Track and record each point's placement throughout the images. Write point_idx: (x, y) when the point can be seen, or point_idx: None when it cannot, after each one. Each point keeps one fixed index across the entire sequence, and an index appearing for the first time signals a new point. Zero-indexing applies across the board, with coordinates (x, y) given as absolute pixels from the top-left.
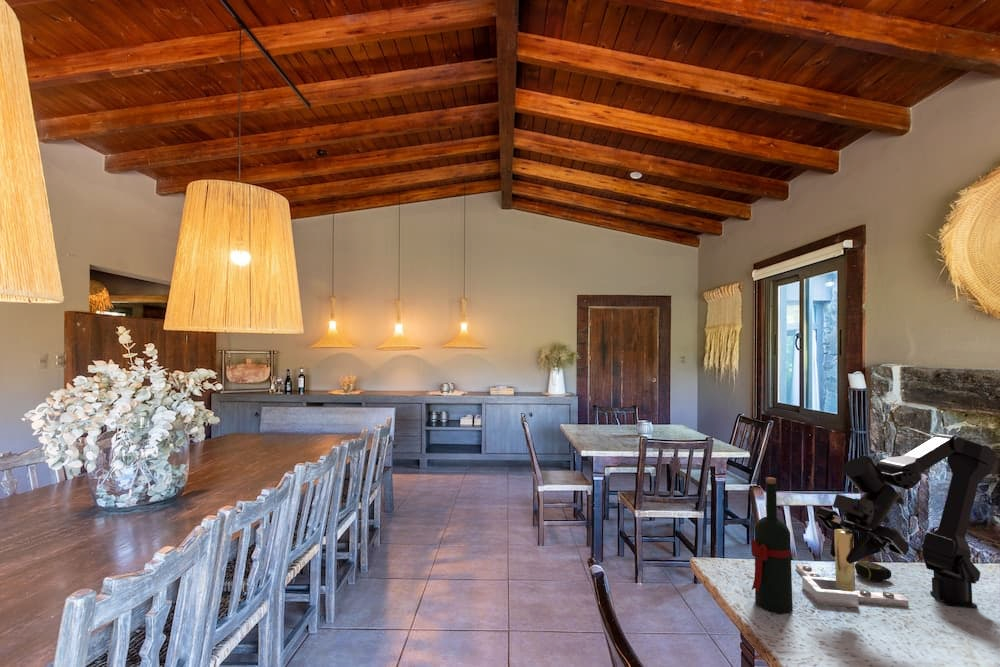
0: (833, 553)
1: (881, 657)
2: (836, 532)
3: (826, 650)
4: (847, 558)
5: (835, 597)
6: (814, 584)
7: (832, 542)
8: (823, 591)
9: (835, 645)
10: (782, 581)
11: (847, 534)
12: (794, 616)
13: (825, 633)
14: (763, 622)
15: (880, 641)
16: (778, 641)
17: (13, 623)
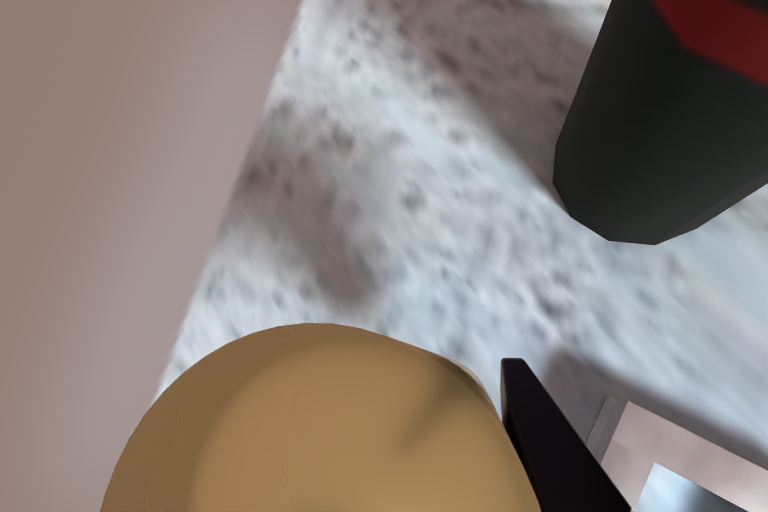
0: (501, 385)
1: (213, 257)
2: (354, 327)
3: (302, 117)
4: None
5: None
6: (726, 479)
7: (587, 467)
8: (618, 438)
9: (313, 170)
10: (589, 68)
11: (136, 441)
12: (525, 187)
13: (382, 201)
14: (513, 37)
15: None
16: (391, 9)
17: None
